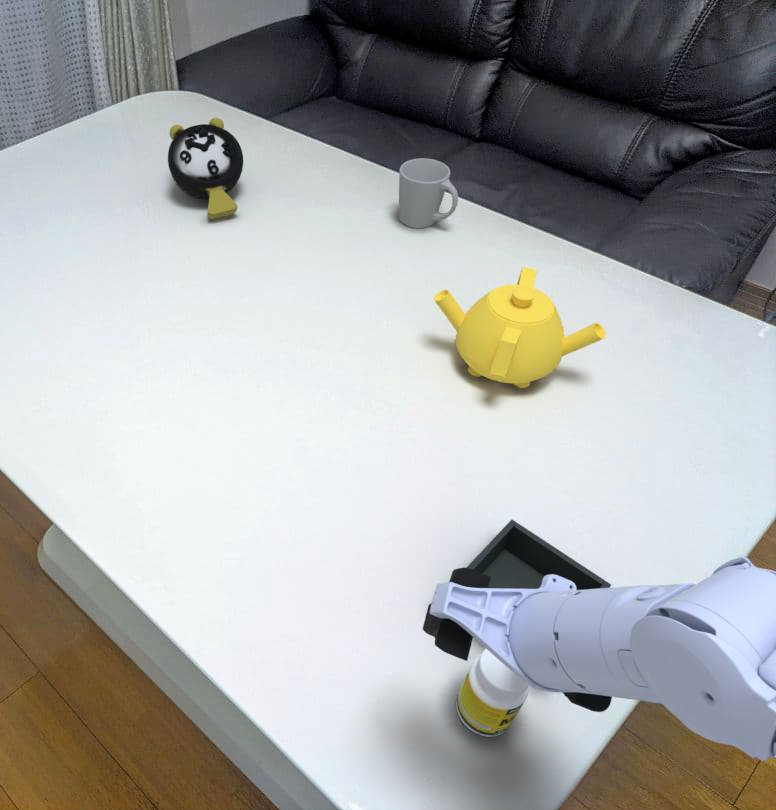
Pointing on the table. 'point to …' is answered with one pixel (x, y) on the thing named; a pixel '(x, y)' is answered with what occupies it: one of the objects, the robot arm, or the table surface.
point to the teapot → (513, 332)
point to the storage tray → (529, 562)
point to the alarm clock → (206, 164)
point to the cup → (424, 192)
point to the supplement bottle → (490, 696)
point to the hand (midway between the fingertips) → (476, 637)
